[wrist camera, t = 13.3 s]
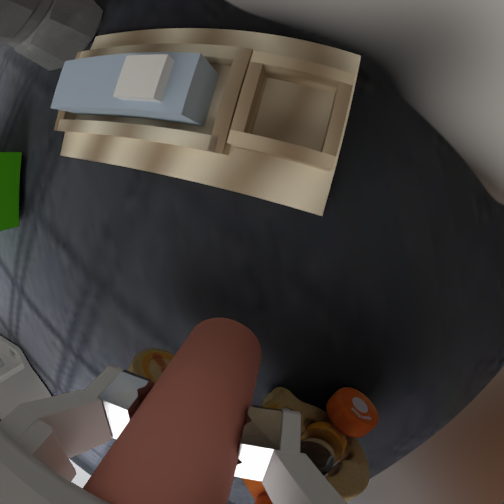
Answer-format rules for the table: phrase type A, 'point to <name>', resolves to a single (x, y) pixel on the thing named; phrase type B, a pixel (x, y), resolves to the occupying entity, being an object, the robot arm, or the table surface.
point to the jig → (234, 116)
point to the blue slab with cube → (139, 86)
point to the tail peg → (186, 424)
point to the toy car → (9, 189)
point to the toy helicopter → (307, 429)
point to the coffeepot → (49, 28)
